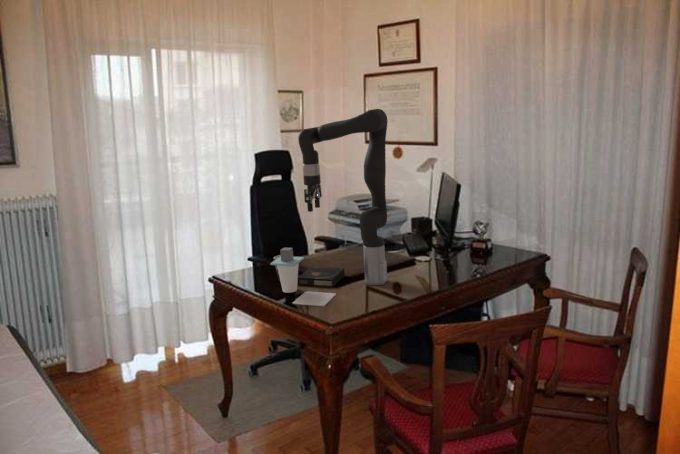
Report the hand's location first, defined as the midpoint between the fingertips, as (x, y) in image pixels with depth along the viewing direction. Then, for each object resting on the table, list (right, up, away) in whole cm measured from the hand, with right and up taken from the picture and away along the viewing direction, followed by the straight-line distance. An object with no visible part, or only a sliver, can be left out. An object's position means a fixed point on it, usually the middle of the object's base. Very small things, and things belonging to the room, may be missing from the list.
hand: (314, 209), depth 256 cm
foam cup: (-10, -36, -8) cm, 38 cm away
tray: (+1, -38, -20) cm, 43 cm away
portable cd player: (+3, -33, +3) cm, 33 cm away
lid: (-11, -23, -11) cm, 28 cm away
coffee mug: (-14, -31, +11) cm, 36 cm away
